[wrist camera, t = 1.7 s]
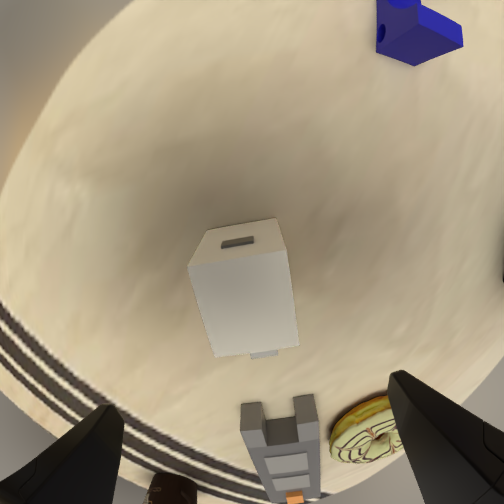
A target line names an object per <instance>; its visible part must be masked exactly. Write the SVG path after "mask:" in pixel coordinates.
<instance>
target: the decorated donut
mask: <svg viewBox="0 0 504 504" xmlns="http://www.w3.org/2000/svg"><path fill="white" fill-rule="evenodd" d="M329 445H330V449H329V451H330V453H331V458H333V459H335V460H337V461H339V462H343V463H358V464H359V463H369V462H373V461H376V460H379V459H382V458H385V457H388V456H390V455H392V454H394V453H396V452H398V451H400V450H401V449H403V448H404V447H403V445H402V442H401V440H400V437H399V434H398V431H397V427H396V423H395V420H394V416H393V413H392V409H391V406H390V402H389V399H388V395H386V396H380V397H376V398H373V399H371V400H369V401H368V402H363V403H361V404H360V405H358V406H356V407H354V408H353V409H351V410H350V411H349V412H348V413H347V414H345V415H344V416H343V417H342V418H341V419H340V420H339V421H338V422H337V424H336V425H335V426H334V428H333V431H332V434H331V437H330V441H329Z"/></svg>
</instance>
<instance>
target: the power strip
mask: <svg viewBox="0 0 504 504" xmlns="http://www.w3.org/2000/svg"><path fill="white" fill-rule="evenodd" d="M293 400H294V408H295V415H296V417H289V418H282V419H275V420H267V421H266V419H265V415H264V412H263V408H262V404H261V402H257V403H248V404H241V420H240V432H241V435H242V437H243V440H244V442H245V445H246V447H247V449H248V452H249V454H250V457H251V459H252V461H253V464H254V466H255V468H256V470H257V473H258V475H259V477H260V479H261V482H262V484H263V486H264V488H265V490H266V492H267V495H268V497H269V499H270V501H271V503H281V502H288V504H295V503H302V502H304V500H305V499H311V498H317V497H320V443H319V420H318V415H317V410H316V406H315V401H314V396H313V394H311V395H306V396H300V397H294V398H293Z"/></svg>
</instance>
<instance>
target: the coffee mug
mask: <svg viewBox="0 0 504 504" xmlns="http://www.w3.org/2000/svg"><path fill="white" fill-rule="evenodd" d="M143 504H197V484H196V483H195V482H194V481H192V480H190V479H188V478H186V477H183V476H180V475H176V474H171V473H157V474H155V475H154V477H153V479H152V482H151V484H150V487H149V489H148V492H147V494H146V497H145V499H144V502H143Z"/></svg>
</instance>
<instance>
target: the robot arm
mask: <svg viewBox="0 0 504 504" xmlns="http://www.w3.org/2000/svg"><path fill="white" fill-rule="evenodd" d="M503 282H504V279H503ZM387 395H388V399H389V402H390V406H391V409H392V413H393V416H394V420H395V423H396V427H397V431H398V434H399V437H400V440H401V442H402V445H403V447H404V450H405V452H406V454H407V457H408V459H409V462H410V464H411V467H412V470H413V472H414V475H415V478H416V480H417V483H418V486H419V488H420V491H421V494H422V496H423V499H424V502H425V504H504V432H502V431H501V430H499V429H497V428H495V427H493V426H492V425H490V424H489V423H487V422H485V421H484V422H483V420H482V419H480V418H479V417H477V416H476V415H474V414H472V413H471V412H469V411H468V410H466V409H464V408H463V407H461V406H460V405H458V404H456V403H455V402H453V401H452V400H450V399H448V398H447V397H445V396H444V395H442V394H441V393H439V392H437V391H436V390H434V389H433V388H431V387H430V386H428V385H426V384H425V383H423V382H422V381H420V380H419V379H417V378H415V377H414V376H412V375H411V374H409V373H408V372H406V371H404V370H399V371H396V372H392V373H391V374H390V377H389V383H388V389H387ZM123 433H124V420H123V418H122V416H121V415H120V413H119V412H118V411H117V409H116V408H115V406H114V405H112V404H101V405H100V406H99V407H97V408H96V409H95V410H94V411H92V412H91V413H90V414H89V415H88V416H86V417H85V418H84V419H83V420H82V421H80V422H79V423H78V424H77V425H75V426H74V427H73V428H72V429H70V430H69V431H68V432H67V433H66V434H64V435H63V436H62V437H61V438H59V439H58V440H57V441H56V442H54V443H53V444H52V445H51V446H49V447H48V448H47V449H46V450H44V451H43V452H42V453H41V454H39V455H38V456H37V457H36V458H34V459H33V460H32V461H31V462H29V463H28V464H26V465H25V466H24V467H22V468H21V469H20V470H18V471H16V472H15V473H13V474H12V475H10V476H9V477H7V478H6V479H4V480H2V481H0V504H112V501H113V496H114V491H115V485H116V480H117V475H118V470H119V465H120V460H121V451H122V441H123Z"/></svg>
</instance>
